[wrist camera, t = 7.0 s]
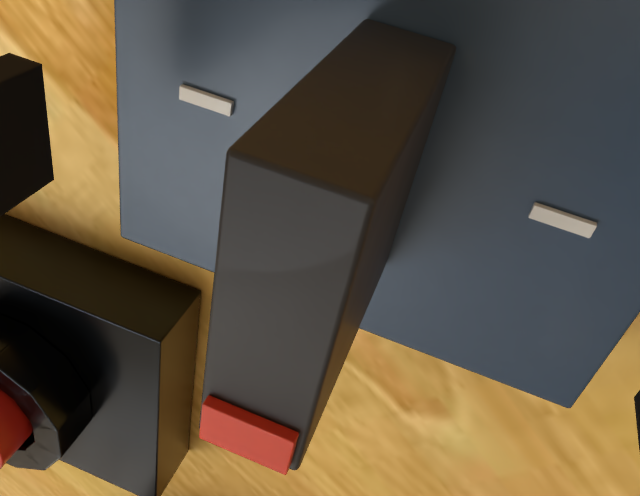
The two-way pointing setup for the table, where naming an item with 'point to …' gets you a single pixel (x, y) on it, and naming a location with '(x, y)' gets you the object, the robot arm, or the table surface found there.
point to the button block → (96, 358)
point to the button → (11, 427)
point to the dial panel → (423, 165)
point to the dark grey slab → (312, 235)
